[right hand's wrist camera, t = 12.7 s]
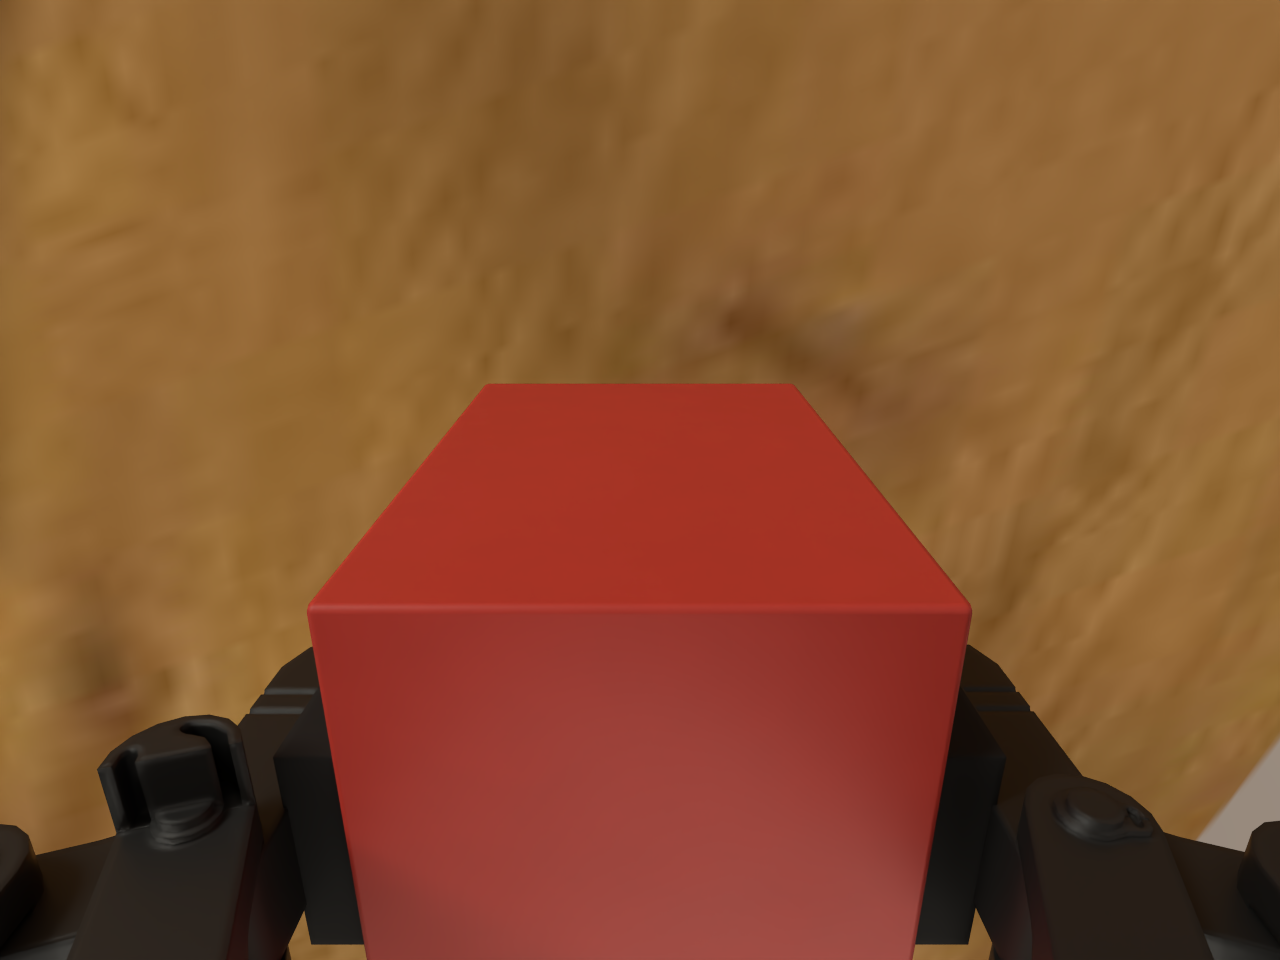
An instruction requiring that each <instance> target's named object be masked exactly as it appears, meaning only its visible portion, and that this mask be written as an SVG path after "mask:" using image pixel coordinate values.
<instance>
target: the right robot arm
mask: <svg viewBox="0 0 1280 960" xmlns="http://www.w3.org/2000/svg"><path fill="white" fill-rule="evenodd" d="M97 771H98V774H99V777H100V780H101V784H102V787H103V790H104V793H105V797H106V800H107V803H108V806H109V810H110V813H111V816H112V819H113V823H114V826H115V829H116V836H113V837H109V838H106V839H103V840H100V841H95V842H91V843H87V844H82V845H78V846H74V847H69V848H65V849H61V850H56V851H52V852H48V853H44V854H39V855H35V853H34V850H33V847H32V844H31V841H30V839H29V836H28V835H27V834H26V833H25V832H23V831H22V830H21V829H19V828H18V827H17V826H13V825H3V824H0V960H291V956H290V952H289V947H288V944H289V942H290V939H291V937H292V935H293V933H294V931H295V929H296V927H297V924H298V922H299V920H300V918H301V916H302V914H303V912H304V911H305V916H306V921H307V926H308V931H309V935H310V940H311V944H364V940H363V934H362V928H361V922H360V916H359V911H358V905H357V899H356V893H355V888H354V882H353V876H352V870H351V864H350V859H349V853H348V847H347V841H346V836H345V830H344V824H343V818H342V812H341V807H340V801H339V795H338V789H337V784H336V778H335V772H334V766H333V760H332V755H331V749H330V743H329V737H328V732H327V726H326V720H325V714H324V708H323V703H322V697H321V691H320V685H319V680H318V674H317V668H316V662H315V656H314V651H313V647H310V648H309V649H307V650H306V651H304V652H303V653H301V654H300V655H299V656H297V657H296V658H294V659H293V660H291V661H290V662H288V663H287V664H285V665H284V666H283V667H282V668H281V669H280V670H279V672H278V673H277V674H276V676H275V677H274V678H273V679H272V681H271V682H270V683H269V685H268V686H267V687H266V689H265V693H264V695H260V697H259V698H258V699H257V701H256V702H255V703H254V705H253V706H252V707H251V709H250V714H246V715H245V717H244V718H243V719H242V721H241V722H240V723H239V725H238V726H237V725H236V724H235V723H233V722H232V721H231V720H230V719H228V718H223V717H218V716H213V715H199V716H185V717H181V718H178V719H174V720H170V721H167V722H163V723H160V724H157V725H155V726H153V727H150V728H148V729H146V730H144V731H142V732H140V733H138V734H136V735H133V736H132V737H130V738H129V739H127V740H126V741H125V742H123V743H122V744H121V745H119V746H118V747H117V748H115V749H114V750H113V751H111V752H110V753H109V755H108V756H107V757H106V758H105V760H104V761H103V762H102V764H101V765H100V766H99V768H98V769H97ZM975 908H976V909H977V911H978V913H979V915H980V918H981V920H982V922H983V924H984V926H985V928H986V930H987V932H988V935H989V937H990V939H991V941H992V947H991V952H990V956H989V960H1280V821H1273V822H1265V823H1263V824H1262V825H1260V826H1259V827H1258V828H1256V829H1255V830H1254V831H1252V834H1251V836H1250V839H1249V842H1248V845H1247V848H1246V850H1245V852H1242V851H1238V850H1233V849H1229V848H1225V847H1220V846H1216V845H1212V844H1207V843H1203V842H1199V841H1194V840H1190V839H1186V838H1181V837H1178V836H1175V835H1171V834H1168V833H1165V832H1163V831H1162V829H1161V828H1160V826H1159V825H1158V823H1157V822H1156V820H1155V819H1154V817H1153V816H1152V814H1151V813H1150V812H1149V811H1147V810H1146V809H1145V808H1144V807H1143V806H1142V805H1140V804H1139V803H1138V802H1137V801H1136V800H1134V799H1133V798H1132V797H1131V796H1129V795H1127V794H1125V793H1123V792H1121V791H1119V790H1118V789H1116V788H1114V787H1112V786H1110V785H1108V784H1106V783H1103V782H1100V781H1097V780H1093V779H1090V778H1087V777H1084V776H1082V775H1081V773H1080V772H1079V771H1078V769H1077V768H1076V767H1075V765H1074V764H1073V763H1072V761H1071V760H1070V759H1069V757H1068V756H1067V755H1066V753H1065V752H1064V751H1063V750H1062V748H1061V747H1060V746H1059V744H1058V743H1057V742H1056V740H1055V739H1054V738H1053V736H1052V735H1051V734H1050V732H1049V731H1048V730H1047V728H1046V727H1045V726H1044V724H1043V723H1042V722H1041V721H1040V719H1039V718H1038V717H1037V715H1036V714H1035V713H1034V711H1030V706H1029V705H1028V703H1027V702H1026V701H1025V699H1024V698H1023V697H1022V695H1021V694H1020V693H1019V692H1016V690H1015V686H1014V685H1013V684H1012V682H1011V681H1010V680H1009V678H1008V677H1007V676H1006V674H1005V673H1004V672H1003V670H1002V669H1001V668H1000V667H999V665H998V664H997V663H995V662H994V661H992V660H991V659H989V658H988V657H986V656H985V655H983V654H982V653H981V652H979V651H978V650H976V649H975V648H973V647H972V646H970V645H967V646H966V652H965V657H964V663H963V669H962V675H961V681H960V686H959V692H958V698H957V704H956V710H955V715H954V721H953V727H952V733H951V738H950V744H949V750H948V756H947V762H946V767H945V773H944V779H943V785H942V791H941V796H940V802H939V808H938V814H937V820H936V825H935V831H934V837H933V843H932V849H931V854H930V860H929V866H928V872H927V878H926V883H925V889H924V895H923V901H922V906H921V912H920V918H919V924H918V930H917V935H916V941H915V944H968V942H969V938H970V933H971V928H972V923H973V918H974V913H975Z"/></svg>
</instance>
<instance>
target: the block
mask: <svg viewBox="0 0 1280 960" xmlns="http://www.w3.org/2000/svg"><path fill="white" fill-rule="evenodd" d="M307 616H308V622H309V628H310V633H311V639H312V645H313V651H314V656H315V662H316V668H317V674H318V680H319V685H320V691H321V697H322V703H323V708H324V714H325V720H326V726H327V732H328V737H329V743H330V749H331V755H332V760H333V766H334V772H335V778H336V784H337V789H338V795H339V801H340V807H341V812H342V818H343V824H344V830H345V836H346V841H347V847H348V853H349V859H350V864H351V870H352V876H353V882H354V888H355V893H356V899H357V905H358V911H359V916H360V922H361V928H362V934H363V940H364V945H365V951H366V957H367V960H912V959H913V953H914V947H915V941H916V935H917V930H918V924H919V918H920V912H921V906H922V901H923V895H924V889H925V883H926V878H927V872H928V866H929V860H930V854H931V849H932V843H933V837H934V831H935V825H936V820H937V814H938V808H939V802H940V796H941V791H942V785H943V779H944V773H945V767H946V762H947V756H948V750H949V744H950V738H951V733H952V727H953V721H954V715H955V710H956V704H957V698H958V692H959V686H960V681H961V675H962V669H963V663H964V657H965V652H966V646H967V640H968V634H969V628H970V623H971V617H972V608H971V605H970V603H969V602H968V601H967V600H966V598H965V597H964V596H963V595H962V593H961V592H960V591H959V590H958V588H957V587H956V586H955V585H954V583H953V582H952V581H951V580H950V578H949V577H948V576H947V575H946V573H945V572H944V571H943V570H942V568H941V567H940V566H939V565H938V563H937V562H936V561H935V560H934V558H933V557H932V556H931V555H930V554H929V552H928V551H927V550H926V549H925V547H924V546H923V545H922V544H921V542H920V541H919V540H918V539H917V537H916V536H915V535H914V534H913V532H912V531H911V530H910V529H909V527H908V526H907V525H906V524H905V522H904V521H903V520H902V519H901V517H900V516H899V515H898V514H897V512H896V511H895V510H894V509H893V507H892V506H891V505H890V504H889V502H888V501H887V500H886V499H885V498H884V496H883V495H882V494H881V493H880V491H879V490H878V489H877V488H876V486H875V485H874V484H873V483H872V481H871V480H870V479H869V478H868V476H867V475H866V474H865V473H864V471H863V470H862V469H861V468H860V466H859V465H858V464H857V463H856V461H855V460H854V459H853V458H852V456H851V455H850V454H849V453H848V451H847V450H846V449H845V448H844V447H843V445H842V444H841V443H840V442H839V440H838V439H837V438H836V437H835V435H834V434H833V433H832V432H831V430H830V429H829V428H828V427H827V425H826V424H825V423H824V422H823V420H822V419H821V418H820V417H819V415H818V414H817V413H816V412H815V410H814V409H813V408H812V407H811V405H810V404H809V403H808V402H807V400H806V399H805V398H804V397H803V395H802V394H801V393H800V392H799V391H798V389H797V388H796V387H795V386H794V385H793V384H487V385H485V386H484V387H483V389H482V390H481V391H480V392H479V394H478V395H477V396H476V397H475V399H474V400H473V401H472V402H471V404H470V405H469V406H468V407H467V409H466V410H465V411H464V412H463V414H462V415H461V416H460V417H459V418H458V420H457V421H456V422H455V423H454V425H453V426H452V427H451V428H450V430H449V431H448V432H447V433H446V435H445V436H444V437H443V438H442V440H441V441H440V442H439V443H438V445H437V446H436V447H435V448H434V450H433V451H432V452H431V453H430V455H429V456H428V457H427V458H426V459H425V461H424V462H423V463H422V464H421V466H420V467H419V468H418V469H417V471H416V472H415V473H414V474H413V476H412V477H411V478H410V479H409V481H408V482H407V483H406V484H405V486H404V487H403V488H402V489H401V491H400V492H399V493H398V494H397V495H396V497H395V498H394V499H393V500H392V502H391V503H390V504H389V505H388V507H387V508H386V509H385V510H384V512H383V513H382V514H381V515H380V517H379V518H378V519H377V520H376V522H375V523H374V524H373V525H372V527H371V528H370V529H369V530H368V531H367V533H366V534H365V535H364V536H363V538H362V539H361V540H360V541H359V543H358V544H357V545H356V546H355V548H354V549H353V550H352V551H351V553H350V554H349V555H348V556H347V558H346V559H345V560H344V561H343V563H342V564H341V565H340V566H339V567H338V569H337V570H336V571H335V572H334V574H333V575H332V576H331V577H330V579H329V580H328V581H327V582H326V584H325V585H324V586H323V587H322V589H321V590H320V591H319V592H318V594H317V595H316V596H315V597H314V599H313V600H312V601H311V602H310V604H309V606H308V609H307Z"/></svg>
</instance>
